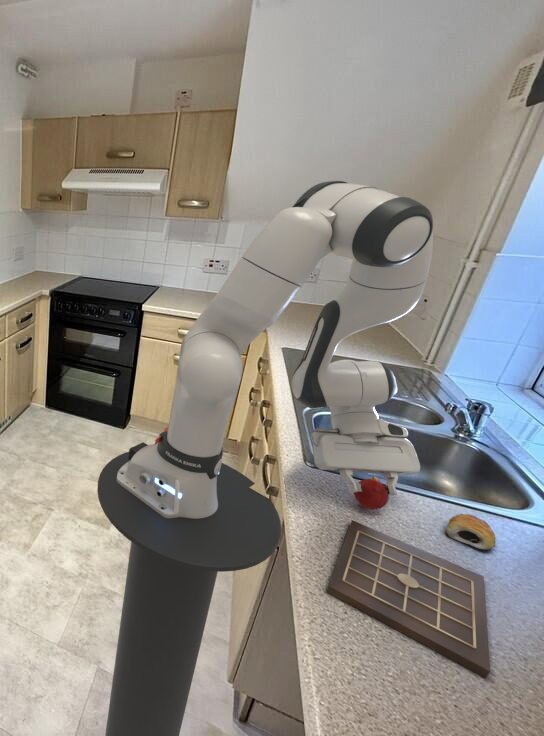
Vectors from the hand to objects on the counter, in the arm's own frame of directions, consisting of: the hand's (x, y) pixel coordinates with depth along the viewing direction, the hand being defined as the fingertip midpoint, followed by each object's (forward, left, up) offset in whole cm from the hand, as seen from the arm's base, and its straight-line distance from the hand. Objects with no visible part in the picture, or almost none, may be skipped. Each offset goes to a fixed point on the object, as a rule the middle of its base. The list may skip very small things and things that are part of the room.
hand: (373, 493), depth 88 cm
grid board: (+8, -20, -4) cm, 21 cm away
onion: (0, 0, -5) cm, 5 cm away
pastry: (+16, +5, -5) cm, 17 cm away
